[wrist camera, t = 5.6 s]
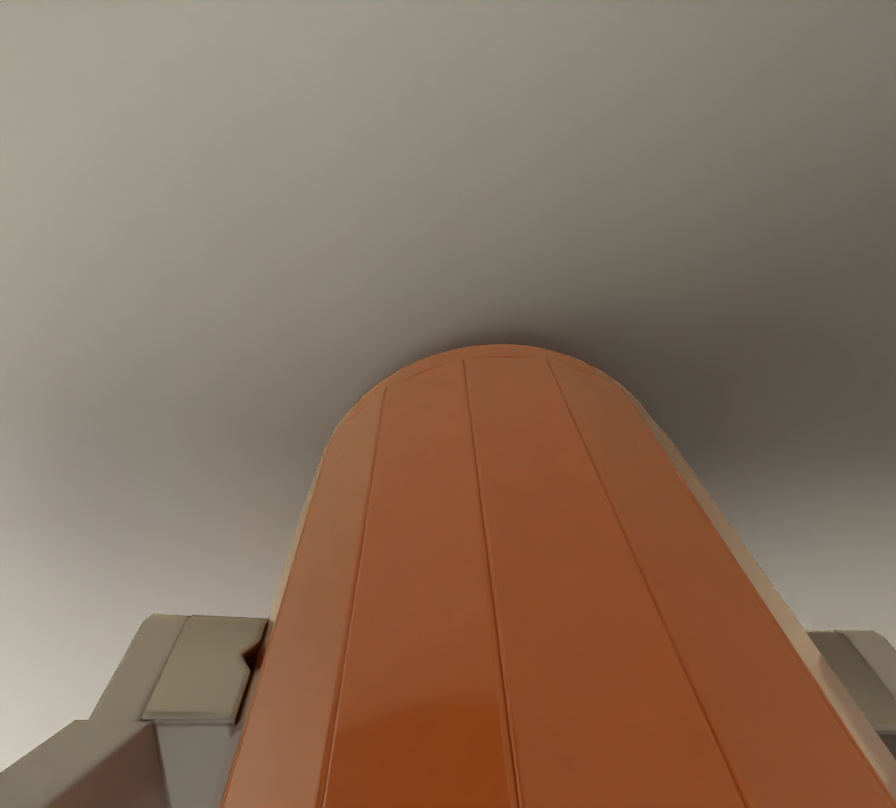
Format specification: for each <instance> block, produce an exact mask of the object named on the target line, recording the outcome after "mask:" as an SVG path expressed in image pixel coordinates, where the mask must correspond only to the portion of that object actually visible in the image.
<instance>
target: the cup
mask: <svg viewBox="0 0 896 808" xmlns="http://www.w3.org/2000/svg"><path fill="white" fill-rule="evenodd" d="M268 619H269V620H268V623H267V626H266V629H265V632H264V636H263V639H262V642H261V645H260V648H259V651H258V653H257V656H256V659H255V663H254V666H253V669H252V672H251V678H250V681H249V684H248V687H247V690H246V694H245V697H244V700H243V703H242V706H241V709H240V713H239V716H238V719H237V722H236V725H235V728H234V731H233V733H232V736H231V739H230V743H229V746H228V749H227V752H226V755H225V759H224V762H223V765H222V768H221V771H220V775H219V778H218V781H217V784H216V787H215V791H214V794H213V797H212V800H211V803H210V807H209V808H896V760H895V758H894V757H893V756H892V754H891V753H890V751H889V750H888V748H887V747H886V746H885V744H884V743H883V741H882V740H881V738H880V737H879V736H878V734H877V733H876V731H875V730H874V728H873V727H872V726H871V724H870V723H869V721H868V720H867V719H866V717H865V716H864V714H863V713H862V711H861V710H860V709H859V707H858V706H857V704H856V703H855V701H854V700H853V699H852V697H851V696H850V694H849V693H848V691H847V690H846V689H845V687H844V686H843V684H842V683H841V682H840V680H839V679H838V677H837V676H836V674H835V673H834V672H833V670H832V669H831V667H830V666H829V664H828V663H827V662H826V660H825V659H824V657H823V656H822V654H821V653H820V652H819V650H818V649H817V647H816V646H815V644H814V643H813V642H812V640H811V639H810V637H809V636H808V635H807V633H806V632H805V630H804V629H803V627H802V626H801V625H800V623H799V622H798V620H797V619H796V617H795V616H794V615H793V613H792V612H791V610H790V609H789V607H788V606H787V605H786V603H785V602H784V600H783V599H782V597H781V596H780V595H779V593H778V592H777V590H776V589H775V588H774V586H773V585H772V583H771V582H770V580H769V579H768V578H767V576H766V575H765V573H764V572H763V570H762V569H761V568H760V566H759V565H758V563H757V562H756V560H755V559H754V558H753V556H752V555H751V553H750V552H749V551H748V549H747V548H746V546H745V545H744V543H743V542H742V541H741V539H740V538H739V536H738V535H737V533H736V532H735V531H734V529H733V528H732V526H731V525H730V523H729V522H728V521H727V519H726V518H725V516H724V515H723V513H722V512H721V511H720V509H719V508H718V506H717V505H716V504H715V502H714V501H713V499H712V498H711V496H710V495H709V494H708V492H707V491H706V489H705V488H704V486H703V485H702V484H701V482H700V481H699V479H698V478H697V476H696V475H695V474H694V472H693V471H692V469H691V468H690V466H689V465H688V464H687V462H686V461H685V459H684V458H683V457H682V455H681V454H680V452H679V451H678V449H677V448H676V447H675V445H674V444H673V442H672V441H671V439H670V438H669V437H668V436H667V435H666V434H665V433H664V431H663V430H662V429H661V428H660V427H659V426H658V425H657V424H656V423H655V422H654V420H653V419H652V417H651V416H650V415H649V413H648V412H647V411H646V410H645V409H644V407H643V406H642V405H641V404H640V402H639V401H638V400H637V399H636V398H635V397H634V396H633V395H632V394H631V393H630V392H629V391H628V390H627V389H625V388H624V387H623V386H622V385H621V384H620V383H619V382H617V381H616V380H614V379H613V378H611V377H610V376H608V375H607V374H605V373H604V372H603V371H601V370H600V369H598V368H596V367H594V366H592V365H589V364H587V363H585V362H583V361H581V360H579V359H577V358H574V357H571V356H568V355H565V354H562V353H559V352H556V351H553V350H548V349H543V348H538V347H532V346H527V345H511V344H491V345H475V346H469V347H464V348H459V349H453V350H448V351H445V352H442V353H439V354H436V355H432V356H429V357H426V358H423V359H421V360H419V361H417V362H415V363H412V364H410V365H408V366H406V367H404V368H402V369H400V370H398V371H397V372H395V373H393V374H392V375H390V376H389V377H387V378H385V379H384V380H382V381H381V382H379V383H378V384H377V385H375V386H374V387H373V388H372V389H371V390H369V391H368V392H367V393H366V394H365V395H363V396H362V397H361V398H360V399H359V400H358V401H357V402H356V403H355V404H354V406H353V407H352V408H351V409H350V410H349V411H348V412H347V413H346V414H345V415H344V417H343V418H342V420H341V421H340V423H339V424H338V426H337V427H336V429H335V430H334V431H333V433H332V434H331V436H330V439H329V441H328V443H327V445H326V447H325V449H324V451H323V453H322V455H321V459H320V462H319V465H318V468H317V472H316V475H315V477H314V480H313V482H312V485H311V487H310V490H309V492H308V495H307V497H306V500H305V503H304V506H303V509H302V512H301V515H300V519H299V522H298V525H297V528H296V531H295V535H294V538H293V541H292V544H291V547H290V551H289V554H288V557H287V560H286V563H285V567H284V570H283V573H282V576H281V579H280V583H279V586H278V589H277V592H276V595H275V599H274V602H273V605H272V608H271V611H270V615H269V618H268Z"/></svg>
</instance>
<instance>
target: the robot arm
mask: <svg viewBox="0 0 896 808" xmlns="http://www.w3.org/2000/svg"><path fill="white" fill-rule="evenodd" d="M268 620H269V619H268V618H247V617H226V616H204V615H192V616H184V615H166V614H152V615H150V616H149V617H148V618H147V619H146V620H144V621H143V622H142V624H141V626H140V628H139V629H138V631H137V633H136V635H135V637H134V638H133V640H132V642H131V644H130V646H129V647H128V649H127V651H126V653H125V655H124V656H123V658H122V660H121V662H120V664H119V665H118V667H117V669H116V671H115V673H114V674H113V676H112V678H111V680H110V682H109V683H108V685H107V687H106V689H105V691H104V692H103V694H102V696H101V698H100V700H99V701H98V703H97V705H96V707H95V709H94V710H93V712H92V714H91V716H90V718H89V719H88V720H74V721H73V722H72V723H70V724H69V725H67V726H66V727H65V728H63V729H62V730H60V731H59V732H57V733H56V734H55V735H53V736H52V737H50V738H49V739H48V740H46V741H45V742H43V743H42V744H40V745H39V746H38V747H36V748H35V749H33V750H32V751H31V752H29V753H28V754H26V755H25V756H23V757H22V758H21V759H19V760H18V761H16V762H15V763H14V764H12V765H11V766H9V767H8V768H6V769H5V770H4V771H2V772H1V773H0V808H209V807H210V803H211V800H212V797H213V794H214V791H215V787H216V784H217V781H218V778H219V775H220V771H221V768H222V765H223V762H224V759H225V755H226V752H227V749H228V746H229V743H230V739H231V736H232V733H233V731H234V728H235V725H236V722H237V719H238V716H239V713H240V709H241V706H242V703H243V700H244V697H245V694H246V690H247V687H248V684H249V681H250V678H251V672H252V669H253V666H254V663H255V659H256V656H257V653H258V651H259V648H260V645H261V642H262V639H263V636H264V632H265V629H266V626H267V623H268ZM805 632H806V633H807V635H808V636H809V637H810V639H811V640H812V642H813V643H814V644H815V646H816V647H817V649H818V650H819V652H820V653H821V654H822V656H823V657H824V659H825V660H826V662H827V663H828V664H829V666H830V667H831V669H832V670H833V672H834V673H835V674H836V676H837V677H838V679H839V680H840V682H841V683H842V684H843V686H844V687H845V689H846V690H847V691H848V693H849V694H850V696H851V697H852V699H853V700H854V701H855V703H856V704H857V706H858V707H859V709H860V710H861V711H862V713H863V714H864V716H865V717H866V719H867V720H868V721H869V723H870V724H871V726H872V727H873V728H874V730H875V731H876V733H877V734H878V736H879V737H880V738H881V740H882V741H883V743H884V744H885V746H886V747H887V748H888V750H889V751H890V753H891V754H892V756H893V757H894V758H895V760H896V650H895V649H894V648H893V647H892V646H891V644H890V643H889V642H888V641H887V640H886V639H885V638H884V637H883V636H881V635H879V634H878V633H876V632H874V631H849V630H835V631H833V632H832V631H810V630H805Z"/></svg>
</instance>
